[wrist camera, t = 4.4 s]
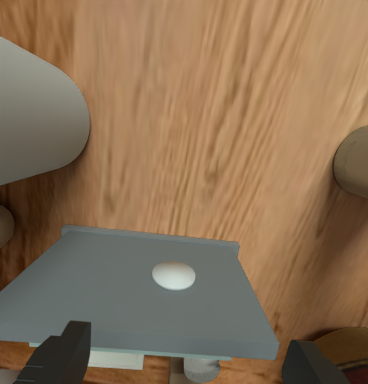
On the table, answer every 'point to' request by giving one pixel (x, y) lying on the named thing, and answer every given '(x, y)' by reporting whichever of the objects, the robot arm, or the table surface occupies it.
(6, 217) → the plastic bottle
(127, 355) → the tray
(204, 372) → the steel cylinder
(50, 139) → the cylinder vase
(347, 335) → the ceramic pitcher
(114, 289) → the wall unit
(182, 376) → the walnut block
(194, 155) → the table surface
